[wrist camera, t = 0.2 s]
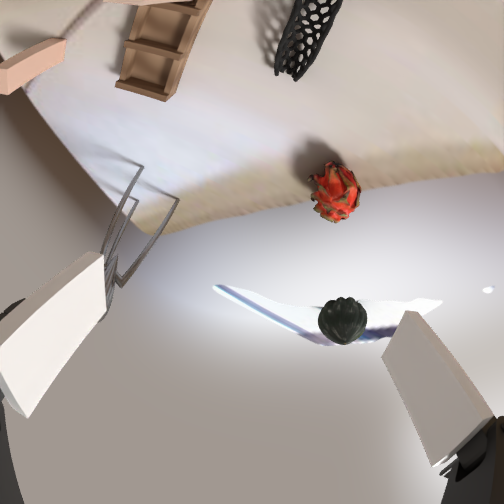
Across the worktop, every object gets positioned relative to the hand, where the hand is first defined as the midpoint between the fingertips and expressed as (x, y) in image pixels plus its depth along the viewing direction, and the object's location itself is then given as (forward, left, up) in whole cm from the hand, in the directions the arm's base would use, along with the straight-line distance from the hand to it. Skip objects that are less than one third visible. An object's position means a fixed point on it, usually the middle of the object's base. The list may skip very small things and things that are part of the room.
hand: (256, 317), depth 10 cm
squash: (+67, -1, -35) cm, 76 cm away
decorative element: (-9, +6, -35) cm, 37 cm away
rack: (-14, -13, -35) cm, 40 cm away
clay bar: (-24, -34, -35) cm, 54 cm away
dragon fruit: (+20, +2, -35) cm, 41 cm away
